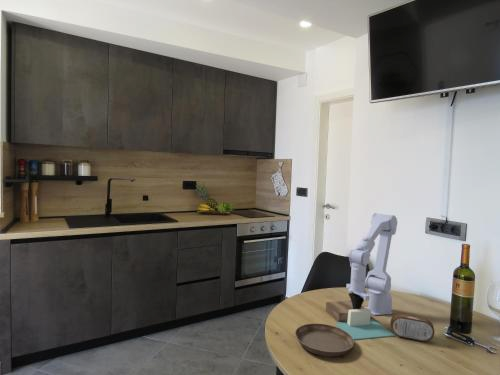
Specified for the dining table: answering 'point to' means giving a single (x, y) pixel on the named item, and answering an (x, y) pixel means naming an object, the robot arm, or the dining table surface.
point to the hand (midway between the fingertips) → (356, 311)
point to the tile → (359, 317)
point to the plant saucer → (324, 339)
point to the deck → (339, 310)
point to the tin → (412, 327)
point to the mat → (365, 330)
